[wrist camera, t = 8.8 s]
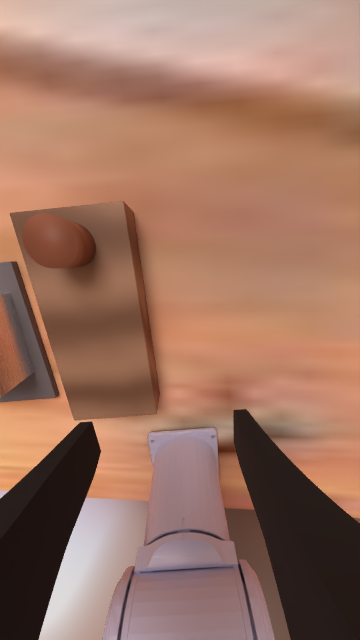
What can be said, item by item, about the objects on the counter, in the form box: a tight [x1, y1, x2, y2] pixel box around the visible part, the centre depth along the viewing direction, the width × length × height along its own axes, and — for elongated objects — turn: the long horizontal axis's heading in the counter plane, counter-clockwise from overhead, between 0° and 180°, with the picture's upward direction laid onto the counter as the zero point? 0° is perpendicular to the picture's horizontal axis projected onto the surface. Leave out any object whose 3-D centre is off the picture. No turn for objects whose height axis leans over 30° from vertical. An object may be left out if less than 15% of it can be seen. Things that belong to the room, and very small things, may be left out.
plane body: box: [10, 201, 160, 420], centre depth 16 cm, size 18×8×6 cm, turn 5°
